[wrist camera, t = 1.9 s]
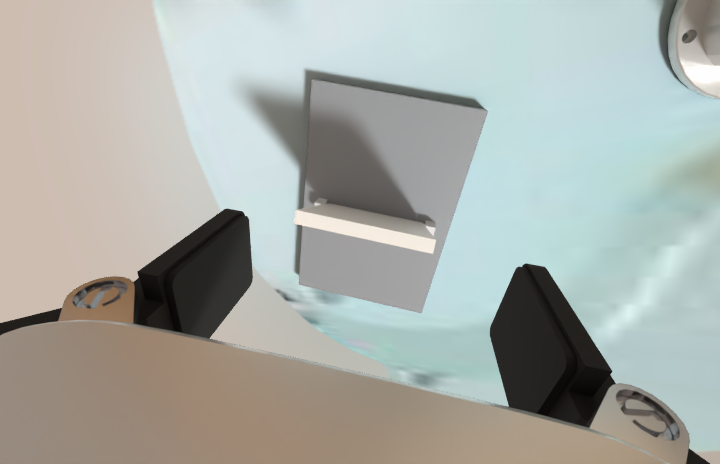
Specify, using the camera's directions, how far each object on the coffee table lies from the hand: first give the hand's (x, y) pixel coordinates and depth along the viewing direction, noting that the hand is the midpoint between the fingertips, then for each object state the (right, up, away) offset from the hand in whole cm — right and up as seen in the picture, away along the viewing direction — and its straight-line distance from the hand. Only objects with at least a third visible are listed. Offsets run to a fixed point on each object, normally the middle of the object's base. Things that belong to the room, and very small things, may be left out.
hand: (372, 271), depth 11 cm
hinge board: (+1, +4, +24) cm, 24 cm away
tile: (+1, +3, +16) cm, 16 cm away
